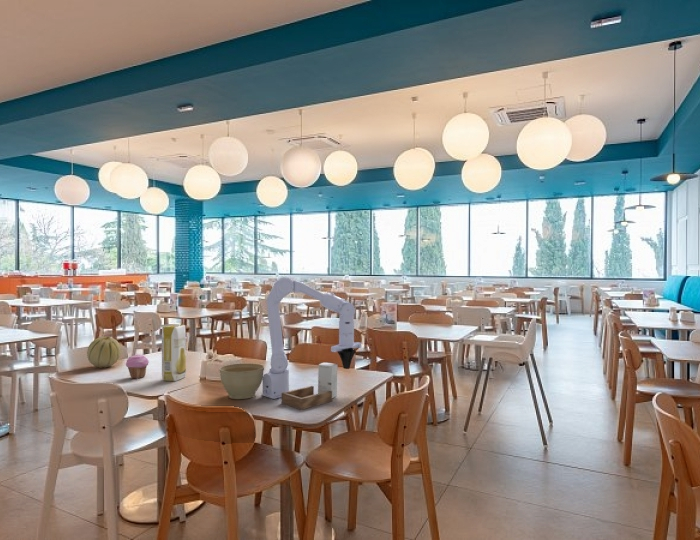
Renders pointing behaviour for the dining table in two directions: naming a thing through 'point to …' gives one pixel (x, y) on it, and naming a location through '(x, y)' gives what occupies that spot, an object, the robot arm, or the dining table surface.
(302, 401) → the walnut cradle
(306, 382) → the dining table surface
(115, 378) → the dining table surface
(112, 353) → the cantaloupe
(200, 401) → the dining table surface
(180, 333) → the juice carton
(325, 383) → the skincare box
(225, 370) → the planter bowl
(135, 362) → the cupcake
